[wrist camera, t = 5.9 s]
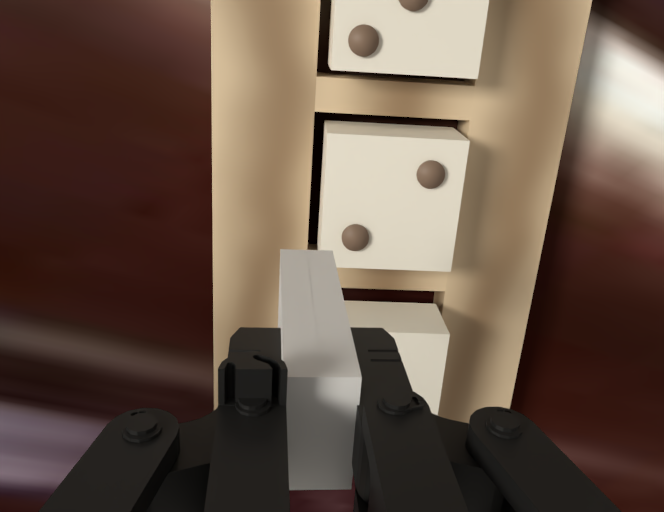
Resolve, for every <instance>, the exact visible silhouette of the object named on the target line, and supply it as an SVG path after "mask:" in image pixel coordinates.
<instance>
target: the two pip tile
mask: <svg viewBox="0 0 664 512" xmlns="http://www.w3.org/2000/svg"><path fill="white" fill-rule="evenodd" d="M469 143H470V141H469V140H468V139H467V138H466V137H464V136H463V135H462V134H461V133H459V132H458V131H457V130H456V129H454V128H453V127H439V126H421V125H403V124H385V123H366V122H348V121H330V120H324V135H323V152H322V169H321V186H320V203H319V220H318V237H317V246H318V250H329V251H333V255H334V259H335V263H336V267H337V268H363V269H389V270H415V271H441V272H451V267H452V260H453V253H454V246H455V239H456V232H457V226H458V219H459V212H460V205H461V198H462V191H463V184H464V178H465V171H466V164H467V157H468V150H469Z"/></svg>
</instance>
